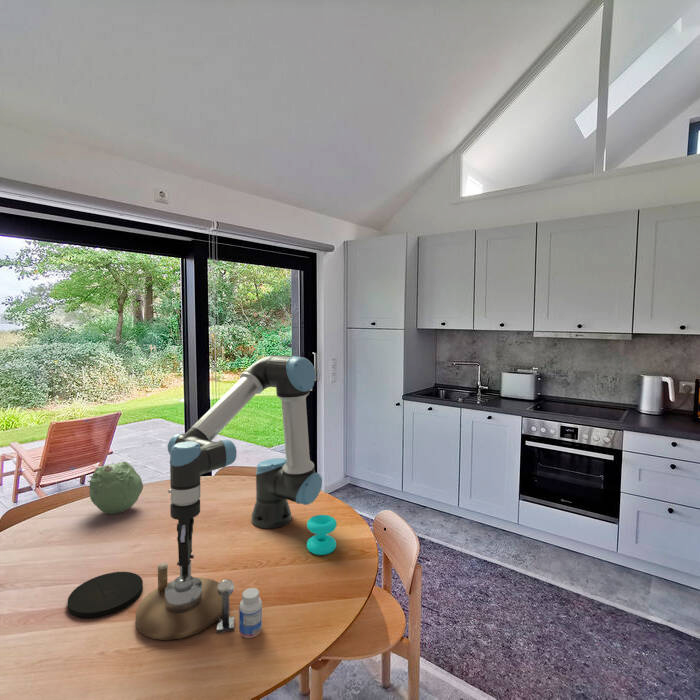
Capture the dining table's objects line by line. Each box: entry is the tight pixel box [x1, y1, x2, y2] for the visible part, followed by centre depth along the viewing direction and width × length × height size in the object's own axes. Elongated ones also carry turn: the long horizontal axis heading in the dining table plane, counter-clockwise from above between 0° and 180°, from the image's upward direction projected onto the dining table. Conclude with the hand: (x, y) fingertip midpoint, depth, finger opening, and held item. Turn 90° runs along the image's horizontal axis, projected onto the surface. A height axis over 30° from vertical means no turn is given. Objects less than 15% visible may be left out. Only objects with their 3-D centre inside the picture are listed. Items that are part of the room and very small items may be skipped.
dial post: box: [216, 578, 235, 634], centre depth 105 cm, size 4×4×12 cm
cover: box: [165, 574, 202, 613], centre depth 110 cm, size 9×9×6 cm
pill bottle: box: [238, 587, 263, 639], centre depth 103 cm, size 6×5×10 cm
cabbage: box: [87, 461, 144, 515], centre depth 166 cm, size 16×19×20 cm
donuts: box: [306, 514, 338, 556], centre depth 142 cm, size 10×10×10 cm
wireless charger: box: [67, 571, 144, 620], centre depth 115 cm, size 18×18×2 cm
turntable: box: [135, 562, 222, 641], centre depth 110 cm, size 22×22×8 cm
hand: (185, 584), depth 115 cm, fingers closed
